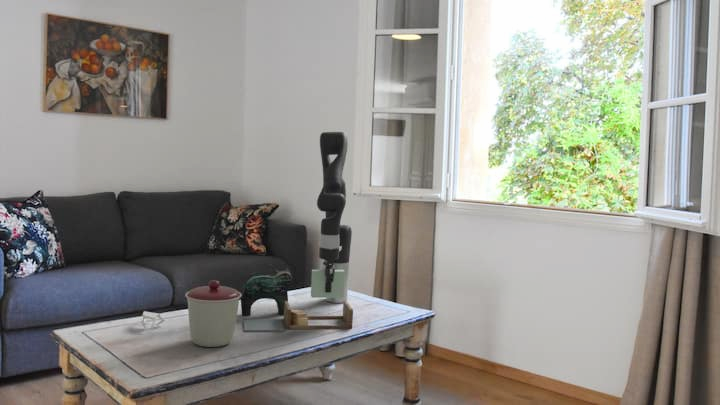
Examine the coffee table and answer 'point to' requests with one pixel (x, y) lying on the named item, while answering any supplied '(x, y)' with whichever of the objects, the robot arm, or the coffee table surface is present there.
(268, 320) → the rubber mat
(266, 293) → the green animal sculpture
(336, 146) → the robot arm
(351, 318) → the walnut rack
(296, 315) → the offcut block
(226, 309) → the canister
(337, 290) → the pale green block
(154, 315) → the origami figure
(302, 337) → the coffee table surface
